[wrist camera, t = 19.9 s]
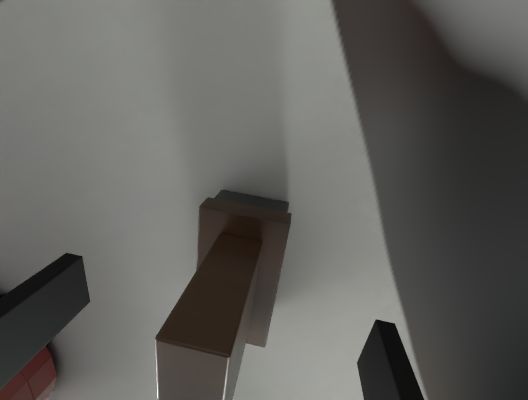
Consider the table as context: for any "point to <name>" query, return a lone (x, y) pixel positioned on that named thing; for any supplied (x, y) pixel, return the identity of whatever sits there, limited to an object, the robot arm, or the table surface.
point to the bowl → (32, 379)
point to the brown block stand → (223, 297)
